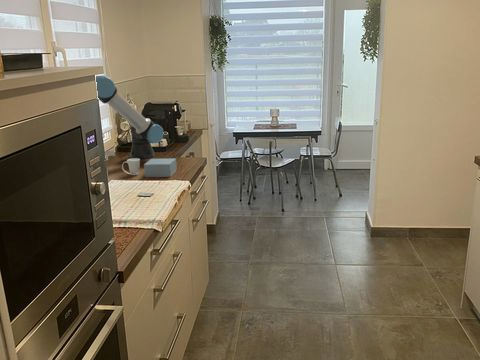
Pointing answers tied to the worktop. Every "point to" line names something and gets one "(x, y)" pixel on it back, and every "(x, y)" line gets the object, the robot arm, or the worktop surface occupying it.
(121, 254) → the worktop surface
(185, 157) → the worktop surface
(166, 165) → the slate box
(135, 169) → the cup
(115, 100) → the robot arm
